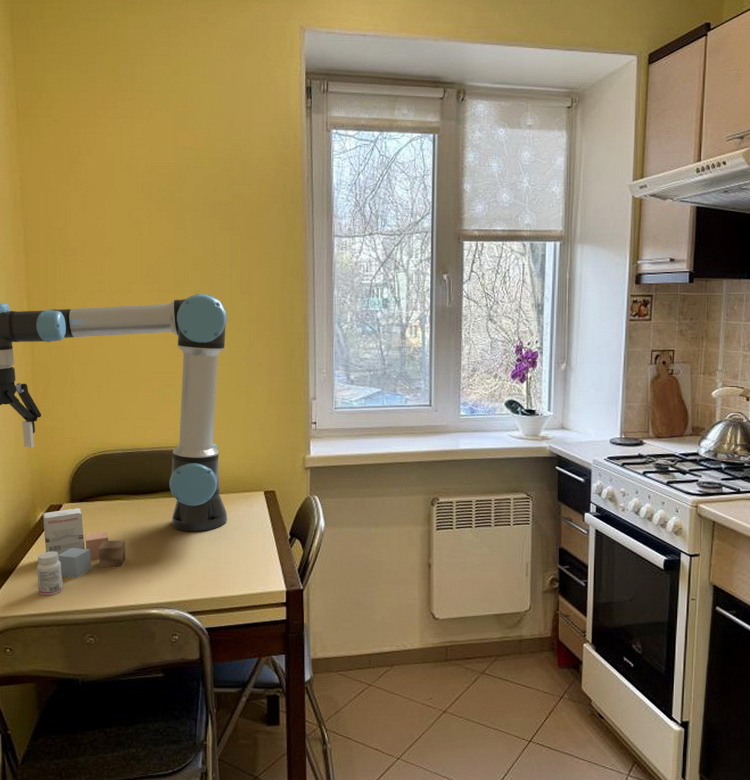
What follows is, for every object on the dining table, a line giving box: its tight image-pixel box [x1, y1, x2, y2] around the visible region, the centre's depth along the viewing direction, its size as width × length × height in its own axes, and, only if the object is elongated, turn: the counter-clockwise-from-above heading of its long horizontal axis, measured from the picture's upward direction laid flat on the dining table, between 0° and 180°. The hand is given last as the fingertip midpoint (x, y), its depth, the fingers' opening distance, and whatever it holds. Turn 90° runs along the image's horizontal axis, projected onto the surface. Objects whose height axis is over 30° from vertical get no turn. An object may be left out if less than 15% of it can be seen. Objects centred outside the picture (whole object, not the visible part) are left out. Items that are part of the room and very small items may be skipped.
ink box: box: [42, 507, 86, 555], centre depth 165 cm, size 9×5×12 cm, turn 118°
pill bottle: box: [36, 551, 64, 596], centre depth 146 cm, size 5×5×8 cm
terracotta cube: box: [84, 530, 109, 560], centre depth 167 cm, size 5×5×5 cm
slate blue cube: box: [58, 548, 92, 579], centre depth 156 cm, size 5×5×5 cm
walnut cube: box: [98, 539, 127, 570], centre depth 162 cm, size 5×5×5 cm
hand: (4, 452), depth 165 cm, fingers open, 13 cm apart
